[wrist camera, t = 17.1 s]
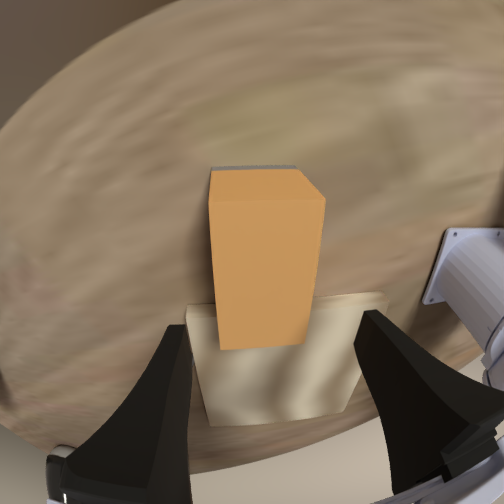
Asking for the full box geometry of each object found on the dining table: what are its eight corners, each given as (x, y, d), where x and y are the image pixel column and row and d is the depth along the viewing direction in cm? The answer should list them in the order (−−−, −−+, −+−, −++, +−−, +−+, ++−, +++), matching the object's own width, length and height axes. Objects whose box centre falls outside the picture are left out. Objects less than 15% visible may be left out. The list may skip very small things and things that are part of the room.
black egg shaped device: (88, 446, 37) (78, 519, 24) (105, 464, 42) (99, 527, 29) (42, 433, 36) (27, 501, 23) (62, 454, 41) (53, 513, 28)
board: (382, 290, 24) (389, 301, 22) (339, 402, 33) (342, 411, 31) (187, 304, 22) (185, 318, 21) (209, 416, 31) (210, 426, 30)
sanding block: (294, 165, 18) (325, 199, 13) (286, 284, 22) (304, 343, 17) (212, 166, 17) (208, 202, 12) (218, 288, 22) (220, 350, 17)
